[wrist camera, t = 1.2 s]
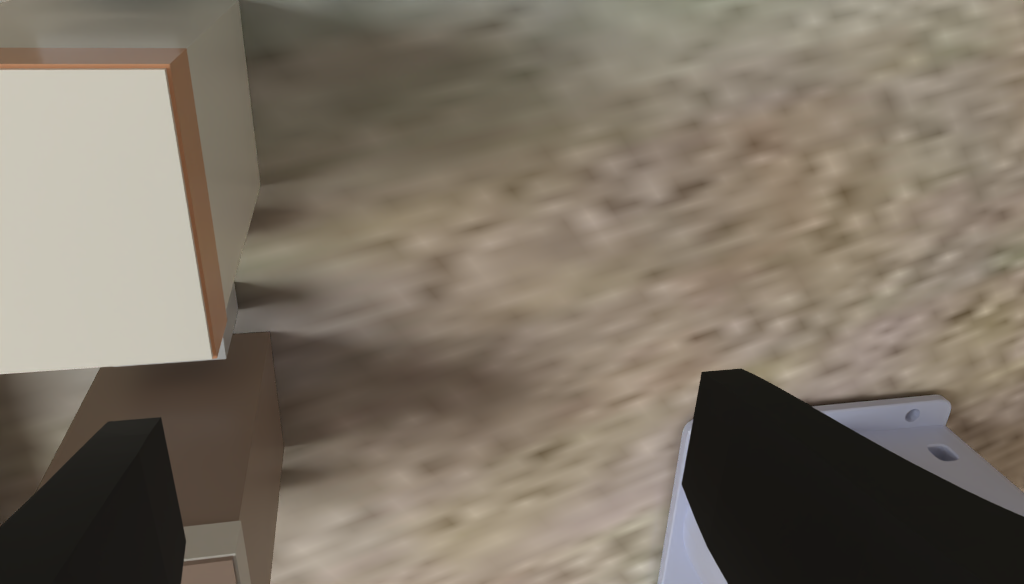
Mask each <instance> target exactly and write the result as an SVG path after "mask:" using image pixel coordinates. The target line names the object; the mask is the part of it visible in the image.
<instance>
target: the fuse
mask: <svg viewBox="0 0 1024 584" xmlns="http://www.w3.org/2000/svg"><path fill="white" fill-rule="evenodd" d="M157 417H161V419H162V424H163V429H164V434H165V439H166V444H167V449H168V454H169V458H170V463H171V468H172V473H173V478H174V483H175V488H176V493H177V498H178V503H179V508H180V513H181V518H182V523H183V528H184V533H185V538H186V547H185V555H184V563H183V571H182V579H181V584H270V579H271V569H272V559H273V550H274V540H275V530H276V521H277V511H278V501H279V491H280V482H281V472H282V462H283V453H284V444H283V436H282V427H281V419H280V411H279V403H278V395H277V387H276V378H275V370H274V362H273V354H272V346H271V338H270V332H257V333H242V334H232V338H231V342H230V346H229V350H228V354H227V358H226V359H220V360H206V361H192V362H178V363H164V364H150V365H135V366H121V367H113V366H110V367H100V369H99V371H98V373H97V375H96V377H95V379H94V381H93V383H92V385H91V387H90V389H89V390H88V392H87V394H86V396H85V398H84V400H83V402H82V404H81V406H80V408H79V410H78V412H77V414H76V416H75V417H74V419H73V421H72V423H71V425H70V427H69V429H68V431H67V433H66V435H65V437H64V439H63V441H62V443H61V445H60V446H59V448H58V450H57V452H56V454H55V456H54V458H53V460H52V462H51V464H50V466H49V468H48V470H47V472H46V473H45V475H44V477H43V479H42V481H41V483H40V485H39V487H38V489H37V491H38V490H39V489H40V488H41V487H42V486H43V485H44V484H45V483H46V482H47V481H48V480H49V479H50V478H51V477H52V476H53V475H54V474H55V473H56V472H57V471H58V470H59V469H60V468H61V467H62V466H63V465H64V464H65V463H66V462H67V461H68V460H69V459H70V458H71V457H72V456H73V455H74V454H75V453H76V452H77V451H78V450H79V449H80V448H81V447H82V446H83V445H84V444H85V443H86V442H87V441H88V440H89V439H90V438H91V437H92V436H93V435H94V434H95V433H96V432H97V431H99V430H100V429H101V428H102V427H103V426H104V425H105V424H106V423H107V422H109V421H121V420H133V419H145V418H157ZM37 491H36V492H37Z"/></svg>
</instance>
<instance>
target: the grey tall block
mask: <svg viewBox="0 0 1024 584" xmlns="http://www.w3.org/2000/svg"><path fill="white" fill-rule="evenodd" d="M260 187H261V184H260V175H259V167H258V158H257V150H256V141H255V133H254V124H253V116H252V107H251V99H250V90H249V81H248V73H247V64H246V56H245V47H244V39H243V30H242V22H241V13H240V5H239V0H9V1H6V2H3V3H0V374H11V373H25V372H39V371H53V370H68V369H82V368H96V367H110V366H124V365H138V364H152V363H167V362H181V361H195V360H209V359H216V358H217V357H218V353H219V349H220V346H221V342H222V338H223V335H224V331H225V327H226V323H227V315H226V308H227V304H228V301H229V297H230V294H231V290H232V287H233V283H234V279H235V276H236V272H237V269H238V265H239V262H240V258H241V254H242V251H243V247H244V244H245V240H246V237H247V233H248V229H249V226H250V222H251V219H252V215H253V212H254V208H255V204H256V201H257V197H258V194H259V190H260Z"/></svg>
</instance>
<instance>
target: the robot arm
mask: <svg viewBox="0 0 1024 584" xmlns="http://www.w3.org/2000/svg"><path fill="white" fill-rule="evenodd" d="M950 412H951V404H950V402H949V401H948V400H947V399H945V398H944V397H943V396H941V395H926V396H915V397H905V398H894V399H884V400H873V401H863V402H853V403H842V404H832V405H821V406H810V405H808V404H806V403H805V402H803V401H801V400H800V399H798V398H796V397H794V396H793V395H791V394H789V393H787V392H785V391H784V390H782V389H780V388H778V387H776V386H775V385H773V384H771V383H769V382H767V381H765V380H764V379H762V378H760V377H758V376H756V375H754V374H752V373H749V372H747V371H745V370H743V369H732V370H720V371H708V372H702V374H701V380H700V385H699V391H698V396H697V401H696V407H695V412H694V418H693V419H692V420H691V421H689V422H688V423H687V424H686V425H685V427H684V429H683V432H682V438H681V445H680V451H679V457H678V463H677V469H676V475H675V481H674V487H673V493H672V499H671V505H670V511H669V517H668V523H667V529H666V535H665V541H664V547H663V553H662V559H661V565H660V572H659V578H658V584H1024V493H1023V492H1022V491H1021V490H1020V489H1019V488H1017V487H1016V486H1015V485H1014V484H1013V483H1012V482H1010V481H1009V480H1008V479H1007V478H1006V477H1005V476H1003V475H1002V474H1001V473H1000V472H999V471H998V470H996V469H995V468H994V467H993V466H992V465H991V464H989V463H988V462H987V461H986V460H985V459H984V458H982V457H981V456H980V455H979V454H978V453H977V452H976V451H974V450H973V449H972V448H971V447H970V446H969V445H967V444H966V443H965V442H964V441H963V440H962V439H960V438H959V437H958V436H957V435H956V434H955V433H953V432H952V431H951V430H950V429H949V428H948V427H946V423H947V420H948V417H949V414H950ZM185 547H186V538H185V533H184V528H183V523H182V518H181V513H180V508H179V503H178V498H177V493H176V488H175V483H174V478H173V473H172V468H171V463H170V458H169V454H168V449H167V444H166V439H165V434H164V429H163V424H162V419H161V417H157V418H145V419H133V420H121V421H109V422H107V423H106V424H105V425H104V426H103V427H102V428H101V429H100V430H99V431H97V432H96V433H95V434H94V435H93V436H92V437H91V438H90V439H89V440H88V441H87V442H86V443H85V444H84V445H83V446H82V447H81V448H80V449H79V450H78V451H77V452H76V453H75V454H74V455H73V456H72V457H71V458H70V459H69V460H68V461H67V462H66V463H65V464H64V465H63V466H62V467H61V468H60V469H59V470H58V471H57V472H56V473H55V474H54V475H53V476H52V477H51V478H50V479H49V480H48V481H47V482H46V483H45V484H44V485H43V486H42V487H41V488H40V489H39V490H38V491H37V492H36V493H35V494H34V495H33V496H32V497H31V498H30V499H29V500H28V501H27V502H26V503H25V504H24V505H23V506H22V507H21V508H20V509H19V510H18V511H16V512H15V513H14V514H13V515H12V516H11V517H10V518H9V519H8V520H7V521H6V522H5V523H4V524H3V525H2V526H1V527H0V584H181V579H182V571H183V563H184V555H185Z"/></svg>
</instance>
